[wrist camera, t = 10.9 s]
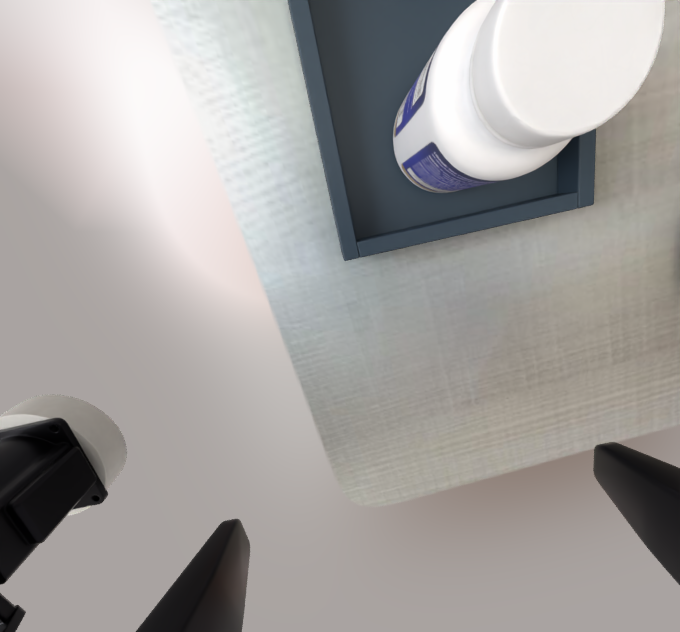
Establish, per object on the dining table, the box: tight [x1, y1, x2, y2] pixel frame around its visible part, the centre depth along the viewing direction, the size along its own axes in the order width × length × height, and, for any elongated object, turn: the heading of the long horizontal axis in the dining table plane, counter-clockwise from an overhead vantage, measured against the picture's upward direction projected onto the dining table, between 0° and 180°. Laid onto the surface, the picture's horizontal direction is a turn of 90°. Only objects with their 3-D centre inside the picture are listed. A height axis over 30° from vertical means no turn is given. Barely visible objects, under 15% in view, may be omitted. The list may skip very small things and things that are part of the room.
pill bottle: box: [393, 0, 665, 193], centre depth 11 cm, size 5×5×9 cm
